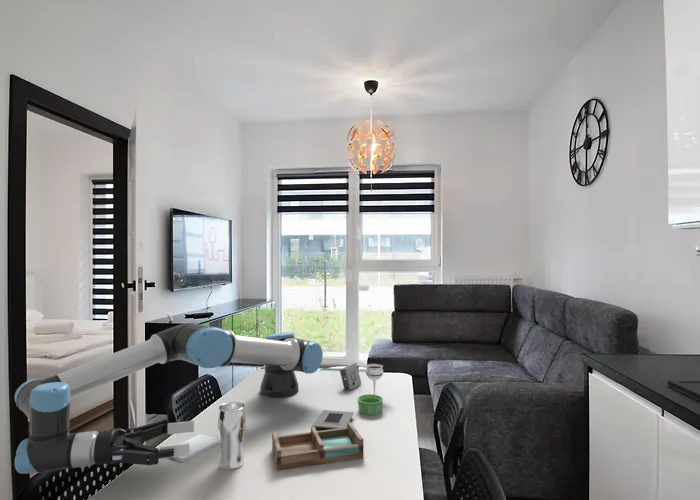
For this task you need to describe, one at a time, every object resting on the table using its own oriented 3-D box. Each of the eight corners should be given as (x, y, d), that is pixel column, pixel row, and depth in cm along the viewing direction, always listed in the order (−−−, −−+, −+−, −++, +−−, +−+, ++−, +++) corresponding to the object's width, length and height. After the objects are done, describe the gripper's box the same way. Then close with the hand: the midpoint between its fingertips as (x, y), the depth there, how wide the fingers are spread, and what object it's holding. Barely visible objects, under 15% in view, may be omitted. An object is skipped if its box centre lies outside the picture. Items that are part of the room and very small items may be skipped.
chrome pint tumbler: (221, 457, 109) (221, 401, 110) (247, 456, 110) (247, 401, 110) (214, 471, 103) (215, 411, 103) (242, 470, 103) (243, 410, 103)
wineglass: (371, 393, 161) (371, 362, 161) (386, 396, 157) (386, 365, 157) (362, 398, 155) (362, 366, 155) (377, 401, 151) (377, 369, 152)
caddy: (272, 449, 114) (272, 431, 114) (350, 438, 121) (350, 421, 121) (277, 471, 102) (277, 451, 103) (363, 458, 109) (363, 439, 109)
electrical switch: (351, 391, 164) (349, 367, 164) (340, 390, 166) (338, 367, 167) (361, 384, 172) (359, 362, 173) (351, 383, 174) (349, 362, 175)
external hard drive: (218, 445, 118) (181, 464, 107) (199, 439, 122) (162, 456, 111) (218, 440, 118) (181, 458, 107) (199, 433, 122) (162, 450, 111)
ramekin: (357, 406, 147) (357, 393, 148) (382, 406, 147) (382, 394, 147) (357, 415, 139) (357, 402, 139) (383, 416, 138) (383, 403, 138)
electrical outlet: (345, 435, 124) (345, 427, 124) (312, 432, 126) (312, 424, 126) (353, 418, 137) (353, 411, 137) (323, 415, 139) (323, 408, 139)
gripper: (111, 441, 109) (195, 431, 115) (78, 492, 85) (187, 476, 92) (111, 412, 109) (195, 404, 116) (79, 456, 86) (187, 443, 92)
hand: (192, 436), depth 104 cm, fingers open, 13 cm apart
